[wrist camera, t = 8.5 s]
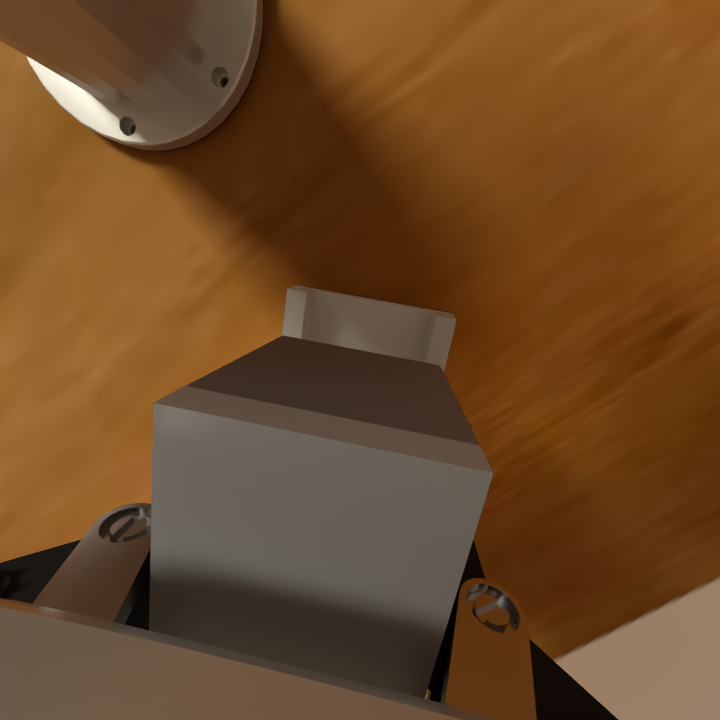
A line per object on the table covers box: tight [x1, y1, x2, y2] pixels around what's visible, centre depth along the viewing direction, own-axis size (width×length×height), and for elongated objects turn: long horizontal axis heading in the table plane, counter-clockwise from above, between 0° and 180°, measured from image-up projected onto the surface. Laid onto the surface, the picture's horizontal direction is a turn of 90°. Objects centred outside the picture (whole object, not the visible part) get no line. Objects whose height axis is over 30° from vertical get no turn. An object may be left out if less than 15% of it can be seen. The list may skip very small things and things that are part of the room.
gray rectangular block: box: [149, 335, 493, 699], centre depth 9 cm, size 9×5×6 cm, turn 170°
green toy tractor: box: [282, 286, 457, 373], centre depth 18 cm, size 24×13×11 cm, turn 170°
